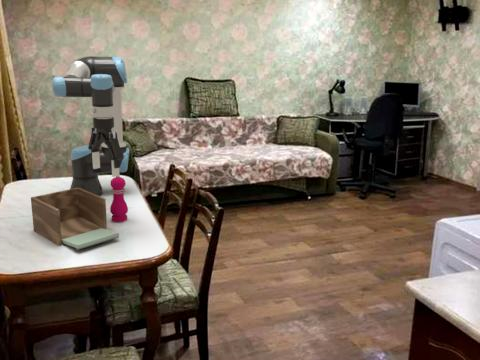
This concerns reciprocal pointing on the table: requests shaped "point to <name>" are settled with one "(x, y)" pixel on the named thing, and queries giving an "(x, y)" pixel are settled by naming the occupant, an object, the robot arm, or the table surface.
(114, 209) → the pepper mill
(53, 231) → the crate
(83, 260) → the table surface
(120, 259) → the table surface
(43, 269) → the table surface
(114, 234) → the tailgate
